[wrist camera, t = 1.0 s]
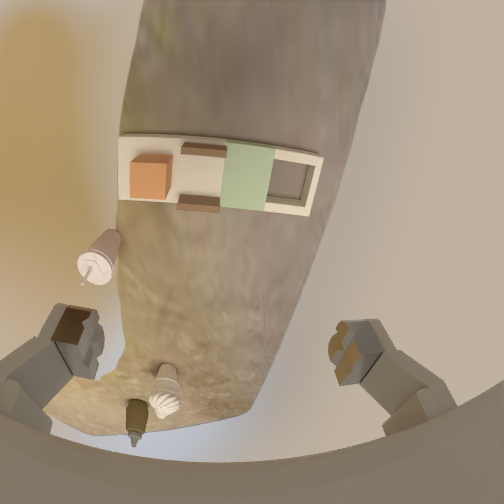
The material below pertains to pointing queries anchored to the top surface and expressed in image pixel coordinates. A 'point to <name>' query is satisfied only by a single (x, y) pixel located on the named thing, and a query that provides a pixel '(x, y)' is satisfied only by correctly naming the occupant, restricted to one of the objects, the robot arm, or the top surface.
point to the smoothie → (100, 258)
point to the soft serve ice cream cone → (165, 391)
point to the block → (150, 176)
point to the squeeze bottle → (136, 420)
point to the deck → (219, 172)
